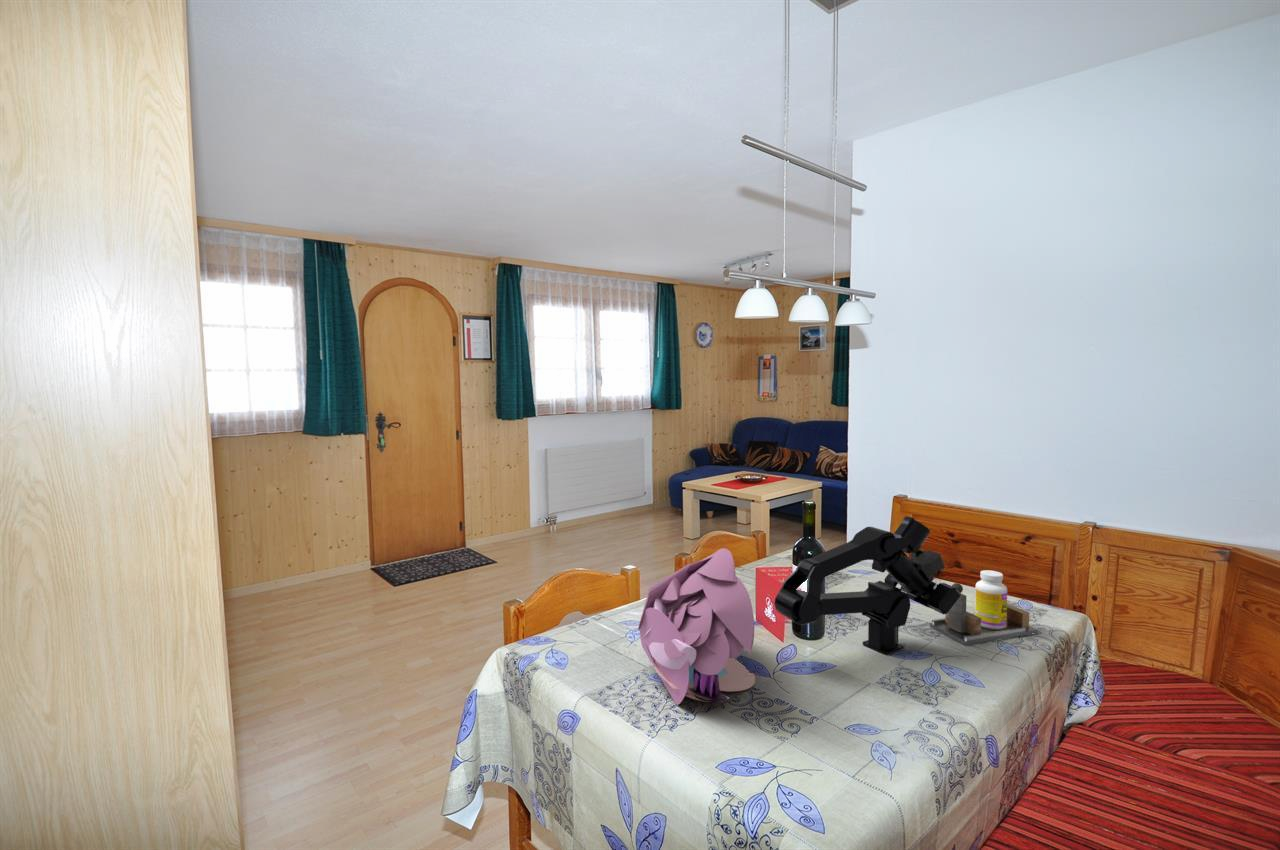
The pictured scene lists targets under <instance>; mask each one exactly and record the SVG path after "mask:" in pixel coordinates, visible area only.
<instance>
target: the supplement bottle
mask: <svg viewBox="0 0 1280 850" xmlns="http://www.w3.org/2000/svg"><path fill="white" fill-rule="evenodd" d="M979 576H980V580H979V581H977V582H976V583H975V589H974V590H975V592H974V593H975V594H974V595H975V596H974V597H975V600H974V602H975V603H974V614H975V615H976V616H978V617H980V618H981V627H984V628H988V629H994V630H1000V629H1004V628H1005V627H1006V623H1007V604H1008V587H1007V586H1006V585H1005V584H1004V583H1002V582H1003V580H1004V575H1003V573H1002V572H1000V571H996V570H989V569H988V570H987V569H986V570H981V571H980V575H979Z"/></svg>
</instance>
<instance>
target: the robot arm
mask: <svg viewBox="0 0 1280 850" xmlns="http://www.w3.org/2000/svg"><path fill="white" fill-rule="evenodd" d="M931 534H932V533H931V530H930V528H928V526H926V525H924V524H923V523H921V522H920V521H918V520H915V519H914V517H913V516H912V517H911V516H908V515H905V517H904V518H903V519H902V520H901V523H900V524H899V526H898V527H897V529H896V530H895V531H894V532H891V531H889V530H884V529H881V528H877V527H874V526H866V527H864V528H863V529H861V530H860V531H858V532H857V533H855V534H854V536H853V537H852V539H851V540H850V541H848V542H845V543H843V544H841V545H839V546H836V547H833V548H832V549H828V550H827V551H823V552H822V553H818V554H817V555H814V556H811V557H810V558H803V559H801V560H800V561H799V562H798V564H797V565H796V566H797V568H796V570H795V571H794V572H793V573H792V574H791V575H790V576H789V577H788V578H787V579H786V580H785V581H784V580H783V583H782V585H781V587H780V589H779V590H778V593H777V594H776V596H775V598H774V599H775V600H774V608H775V610H776V612H777V613H778V614H780V615H782V616H783V617H785V618H787V619H788V620H790V621H791V622H792V623H795V624H797V625H800V626H804V625H807V624H812V623H815V622H817V621H818V620H819V619H820V618H821V617H822V616H832V615H833V616H835V615H846V614H847V615H849V614H861V615H862V616H864V617H867V618H869V620H868V624H867V625H868V627H867V632H868V635H867V637H868V639H867V640H864V641H863V642H862V645H863V646H865V647H868V648H870V649H872V650H874V651H877V652H879V653H881V654H883V655H889V654H892V653H895V652H897V651H899V650H902V649H905V645H903V644H902V643H899V627H903V626H906V623H907V619H908V617H909V612H910V609H911V600H912V601H913V602H916V603H918V604H920V605H922V606H924V607H926V608H929V609H931V610H933V611H936V612H937V613H940V614H941V615H945V614H947V613H948V612H949V610H950V609H951V608H952V606H953V605H954V604H955V602H956V601H957V600H958V599H959V597H960V596H961V594H962V593H961V594H960V592H959V591H958V590H957V589H956V588H955V587H953V586H952V585H950V584H948V583H946V582H941V583H940V582H939V583H938V584H937V583H936V582H934V580H935V577H934V576H933V575H935V574H937V573H938V572H940V571H941V570H944V569H945V568H946V564H945V562H944V559H943V557H942V555H941V553H938V552H935V551H932V550H925V549H923V550H922V549H921V547H922V546H923V544H924V543H925V542H926V540H927V539H928V538H929V536H930V535H931ZM907 554H909V555H910V557H909V556H908V555H907ZM863 561H872V564H871V569H872V570H873V571H877V572H880V573H882V574H883V573H885V572H888V574H887V575H886V576H885V578H884V581H882V580H879V581H876V582H871V581H868V582H867V588H866V589H865V590H862V591H861V590H860V591H847V592H846V591H845V592H826V593H822V583H823V581H824V578H826V577H829V576H831V575H834V574H835V573H838V572H840V571H842V570H845V569H847V568H849V567H852V566H854V565H856V564H858V563H861V562H863ZM807 579H808V580H807ZM806 580H807V592H805V591H801V590H796V589H797V588H798V587H799V586H800V585H801V584H802V583H803V582H805V581H806ZM898 585H900V588H899V587H897V586H898Z"/></svg>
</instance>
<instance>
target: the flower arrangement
mask: <svg viewBox="0 0 1280 850" xmlns="http://www.w3.org/2000/svg"><path fill="white" fill-rule="evenodd" d="M637 630H639V637H640V644H641V647H642V649H643V650H644V652H645V654H646V656H647V657H648V659H649V661H650V663H651V664H652V666H653V668H654V669H655V671H656V673H657V674H658V676H659V678H660V679H661V681H662V683H663V684H664V686H665V688H666V689H667V692H668V693H669V694H670V696H671V698H672V700H673V701H674V703H675V704H677V705H676V706H678V705H680V704H681V703H682V701H683V700H684V698H685V697H688V698H690V699H693V700H695V701H696V700H697V701H700V702H704V703H705V702H706V703H716V704H718V703H719V704H720V703H724V702H727V701H728V700H729V699H730V697H729V696H727V695H726V694H725V693H724V692H742V691H745V690H748V689H750V688H752V687H753V686H754V684H755V682H756V677H755V673H753V672H751V673H749V672H750V671H749V670H747V669H748V668H747V667H746V666H745V665H743V663H741V662H740V661H738V660H737V659H736V658H739V657H740V655H741V654H742V652H743V650H744V649H745V650H746V651H747V653H748V654H750V655H751V652H752V650H753V646H754V640H755V618H754V611H753V605H752V601H751V598H750V595H749V592H748V590H747V588H746V586H745V584H744V583H743V582H742V580H741V579H740V578H739V577H738V576H736V567H735V561H734V557H733V555H732V552H731V551H730V550H729V549H728V548H724V547H723V548H720V549H718V550H716V551H715V552H714V553H712V554H710V555H709V556H706V557H705V558H702V559H701V560H698V561H694V562H691V563H688V564H686V565H684V566H683V567H681V568H680V569H679V570H676V571H675V572H673V573H671V574H670V575H668V576H666V577H664V578H663V579H661V580H660V581H658V582H656V583H654V584H652V586H649V587H648V592H647V593H646V599H645V602H644V606H643V610H642V613H641V616H640V621H639V623H638V627H637ZM746 668H747V669H746Z"/></svg>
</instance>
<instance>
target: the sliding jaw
mask: <svg viewBox="0 0 1280 850" xmlns="http://www.w3.org/2000/svg"><path fill="white" fill-rule="evenodd" d="M951 586H953V587H955V588H956V589H957V590H958V591H959V592H960V594H961V596H960V597H959V599H958V600H957V601H956V602H955V604H954V605H953V606H952V608H951V609H950V610H949V612H948V613H947V614H944V615H945V616H944V618H945V622H946V623H947V626H948V627H950V628H952V629H954V630H956V631H958V632H960V633H963V632H967V633H969V634H971V635H975V634H981V618H980V617H978V616H976V615H973V614H974V613H971V612H968V611H967V595H966V594H964V593H962V592H963V591H964V587H963V585H962V584H960V583H957V582H956V583H953V584H952V585H951Z"/></svg>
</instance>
